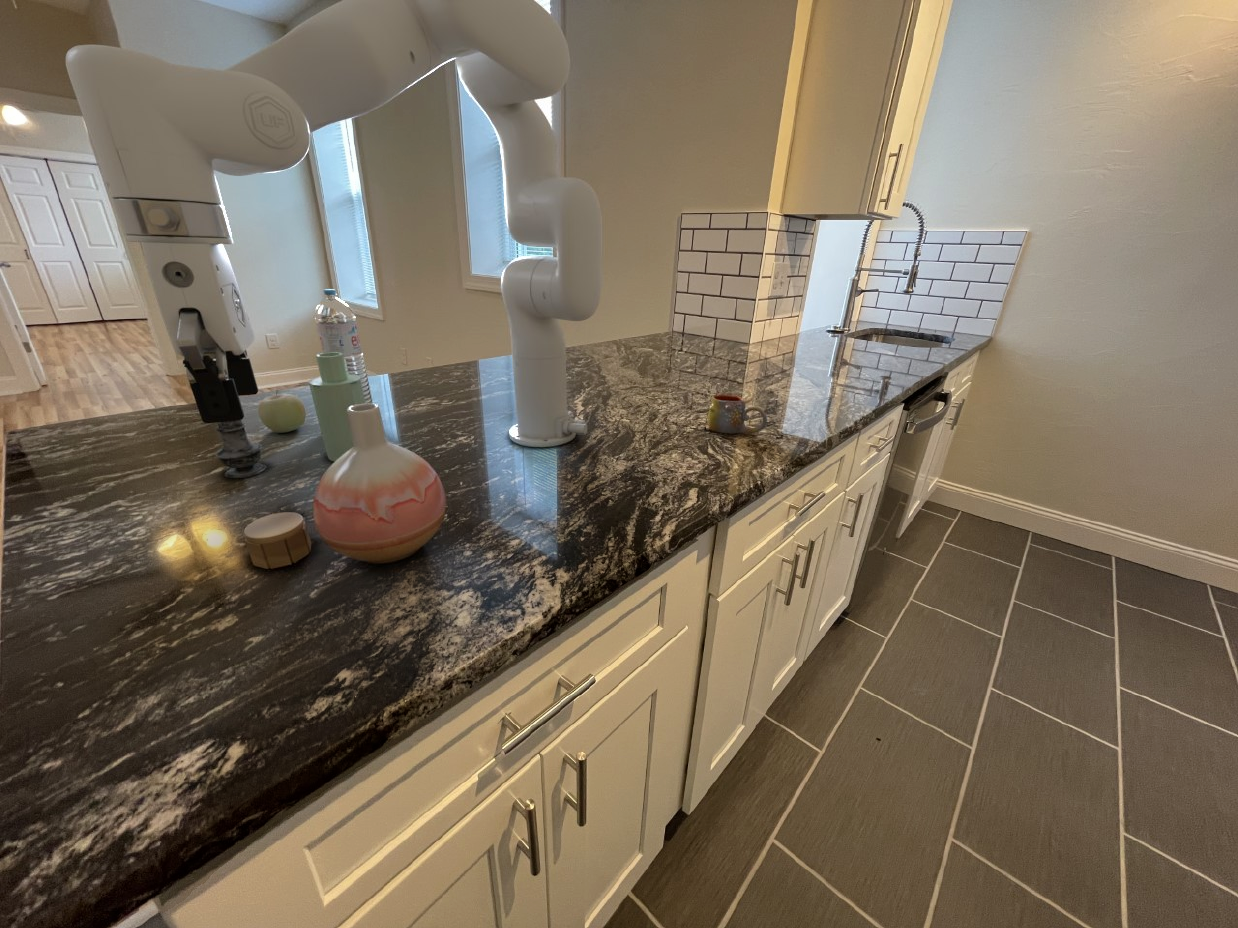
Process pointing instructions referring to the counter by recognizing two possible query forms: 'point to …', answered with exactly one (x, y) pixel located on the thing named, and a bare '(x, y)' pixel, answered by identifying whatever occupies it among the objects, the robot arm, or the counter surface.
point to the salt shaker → (238, 451)
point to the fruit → (282, 412)
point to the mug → (731, 415)
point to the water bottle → (342, 336)
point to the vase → (377, 496)
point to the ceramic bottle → (335, 402)
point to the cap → (277, 540)
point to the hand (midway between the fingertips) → (233, 407)
